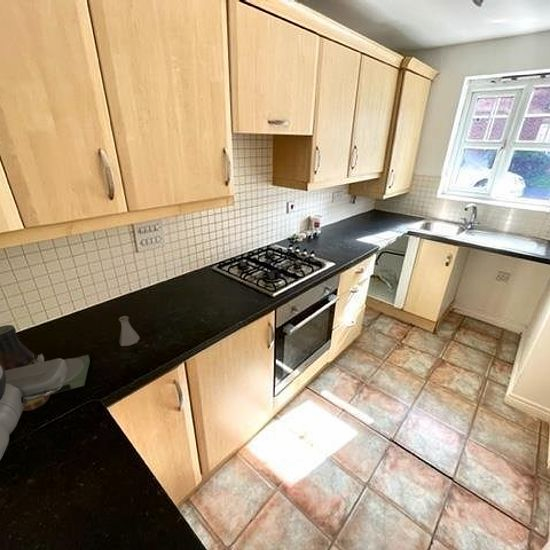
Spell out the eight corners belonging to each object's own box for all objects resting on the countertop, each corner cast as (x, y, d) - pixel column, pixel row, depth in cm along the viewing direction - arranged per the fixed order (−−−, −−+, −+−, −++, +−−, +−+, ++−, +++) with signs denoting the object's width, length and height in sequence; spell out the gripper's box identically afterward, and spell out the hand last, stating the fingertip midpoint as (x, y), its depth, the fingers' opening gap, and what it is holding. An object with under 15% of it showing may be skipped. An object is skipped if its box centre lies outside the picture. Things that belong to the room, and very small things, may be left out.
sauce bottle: (55, 400, 70) (24, 329, 62) (22, 417, 66) (-16, 343, 58) (47, 386, 74) (17, 318, 66) (15, 401, 70) (-21, 331, 62)
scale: (33, 400, 89) (30, 392, 87) (46, 370, 100) (42, 363, 99) (83, 386, 93) (81, 379, 92) (90, 360, 104) (87, 353, 103)
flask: (140, 333, 118) (134, 311, 114) (139, 343, 112) (133, 321, 108) (120, 337, 116) (113, 315, 112) (118, 348, 110) (111, 325, 106)
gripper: (54, 379, 57) (69, 338, 69) (-90, 414, 50) (-47, 362, 62) (64, 403, 59) (77, 360, 71) (-72, 440, 53) (-33, 386, 64)
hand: (18, 361), depth 66 cm, fingers closed on sauce bottle, 6 cm apart
